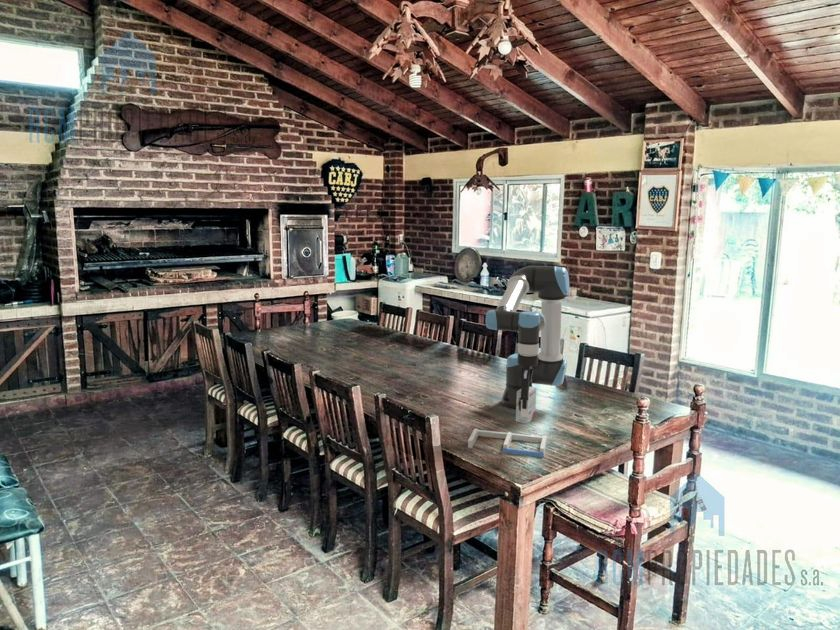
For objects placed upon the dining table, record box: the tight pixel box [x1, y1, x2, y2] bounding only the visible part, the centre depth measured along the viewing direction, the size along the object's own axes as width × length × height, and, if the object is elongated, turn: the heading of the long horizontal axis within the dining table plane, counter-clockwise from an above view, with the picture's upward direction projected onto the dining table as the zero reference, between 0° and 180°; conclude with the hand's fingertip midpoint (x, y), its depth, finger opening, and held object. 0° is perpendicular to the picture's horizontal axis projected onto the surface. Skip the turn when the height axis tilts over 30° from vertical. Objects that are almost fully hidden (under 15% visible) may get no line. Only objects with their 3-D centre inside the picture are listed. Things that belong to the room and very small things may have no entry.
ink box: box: [515, 386, 537, 424], centre depth 239 cm, size 9×5×12 cm, turn 149°
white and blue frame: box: [467, 428, 548, 458], centre depth 247 cm, size 15×28×3 cm, turn 74°
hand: (525, 412), depth 240 cm, fingers closed on ink box, 9 cm apart
